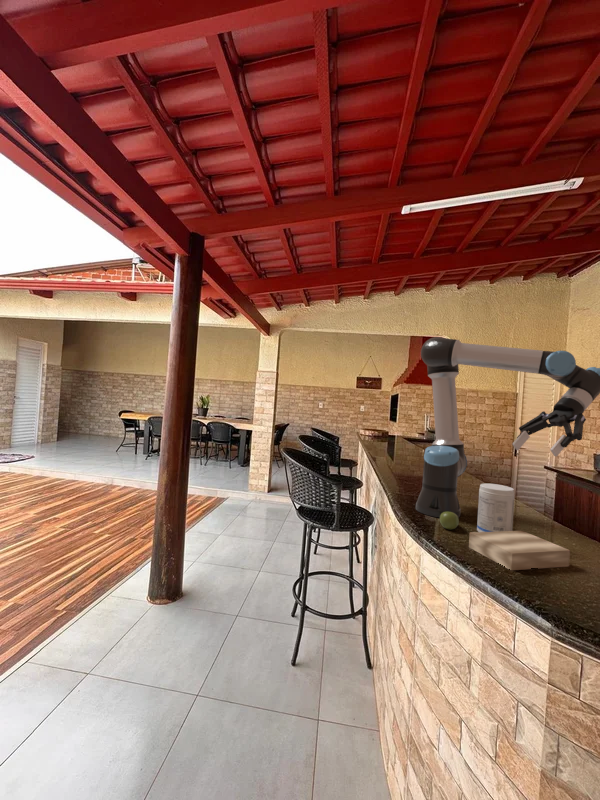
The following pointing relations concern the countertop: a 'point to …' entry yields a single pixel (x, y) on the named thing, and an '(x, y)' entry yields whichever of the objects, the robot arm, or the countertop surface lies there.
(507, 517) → the supplement tub
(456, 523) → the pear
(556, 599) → the countertop surface
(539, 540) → the wooden riser
